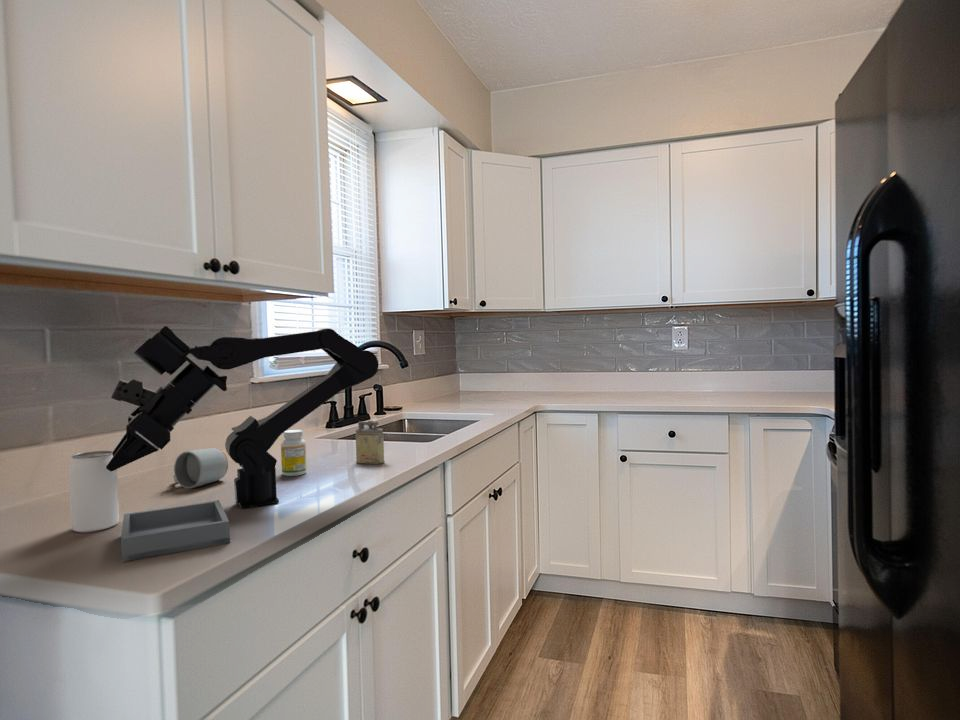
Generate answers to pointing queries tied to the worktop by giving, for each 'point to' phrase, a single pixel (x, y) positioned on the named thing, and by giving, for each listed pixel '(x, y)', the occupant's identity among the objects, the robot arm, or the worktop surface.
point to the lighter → (369, 443)
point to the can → (93, 492)
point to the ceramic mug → (200, 467)
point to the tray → (173, 530)
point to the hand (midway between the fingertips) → (109, 464)
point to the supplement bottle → (293, 453)
